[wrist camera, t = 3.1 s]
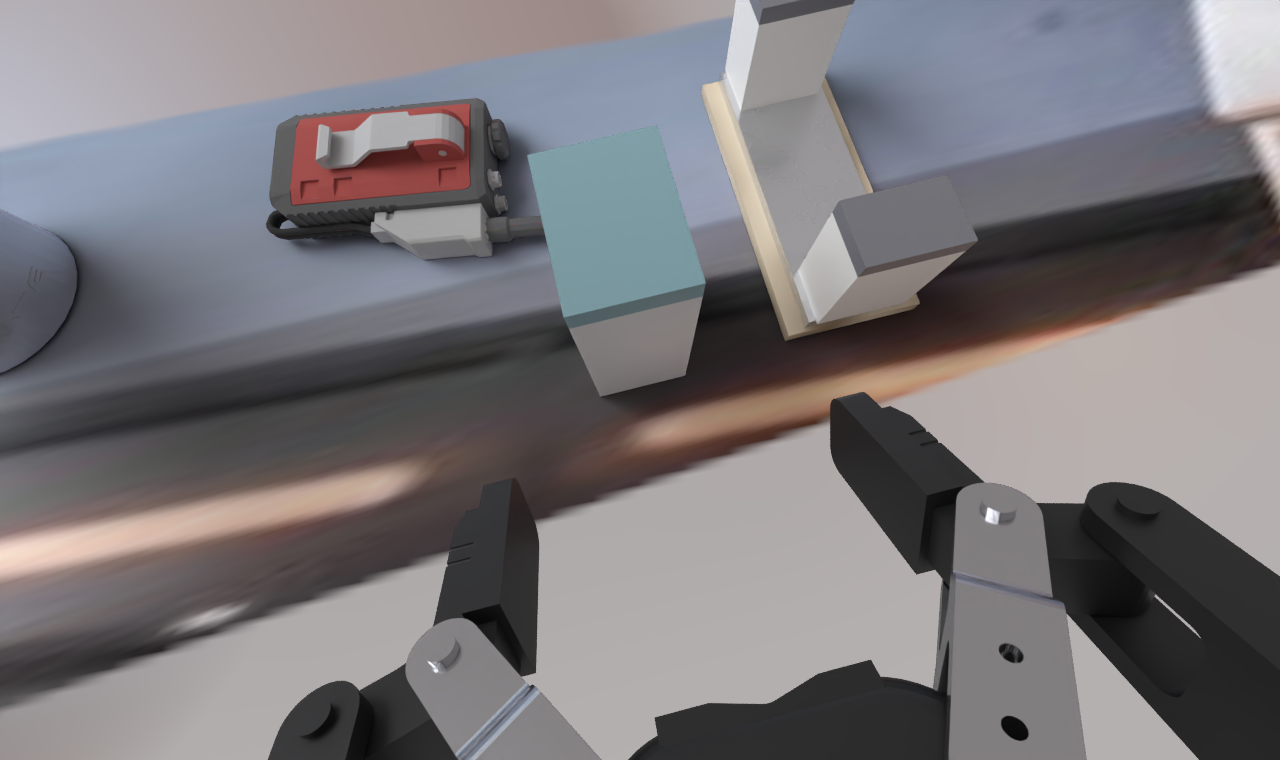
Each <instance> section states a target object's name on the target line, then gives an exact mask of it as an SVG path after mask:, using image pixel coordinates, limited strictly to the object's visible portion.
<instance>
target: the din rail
mask: <svg viewBox="0 0 1280 760" xmlns="http://www.w3.org/2000/svg"><path fill="white" fill-rule="evenodd" d="M719 87H720V90H721V92H722V95H723V98H724V101H725V104H726V107H727V109H728V112H729V115H730V118H731V121H732V124H733V126H734V129H735V132H736V135H737V138H738V141H739V143H740V146H741V149H742V152H743V155H744V158H745V161H746V163H747V166H748V169H749V172H750V175H751V178H752V180H753V183H754V186H755V189H756V192H757V195H758V197H759V200H760V203H761V206H762V209H763V212H764V214H765V217H766V220H767V223H768V226H769V229H770V231H771V234H772V237H773V240H774V243H775V246H776V248H777V251H778V254H779V257H780V260H781V263H782V265H783V268H784V271H785V274H786V277H787V280H788V282H789V285H790V288H791V291H792V294H793V297H794V299H795V302H796V305H797V308H798V311H799V314H800V316H801V319H802V322H803V325H804V328H807V327H811V326H815V325H819V324H817V322H816V319H815V317H814V314H813V311H812V308H811V305H810V303H809V300H808V297H807V294H806V292H805V289H804V286H803V283H802V280H801V278H800V275H799V272H798V269H799V268H800V266H801V264H802V263H803V261H804V259H805V258H806V256H807V254H808V252H809V251H810V249H811V247H812V246H813V244H814V242H815V241H816V239H817V237H818V235H819V234H820V232H821V230H822V229H823V227H824V225H825V224H826V222H827V220H828V218H829V217H830V215H831V213H832V212H833V210H834V208H835V207H836V205H837V203H838V202H839V201H840V200H844V199H848V198H852V197H856V196H861V195H865V194H866V192H865V189H864V187H863V184H862V182H861V180H860V177H859V175H858V172H857V170H856V168H855V165H854V163H853V160H852V158H851V155H850V153H849V151H848V148H847V146H846V143H845V141H844V139H843V136H842V134H841V131H840V129H839V127H838V124H837V122H836V119H835V117H834V115H833V112H832V110H831V107H830V105H829V103H828V100H827V98H826V95H825V93H824V91H823V88H822V86H821V87H820V90H819V93H818V94H814V95H809V96H805V97H801V98H796V99H792V100H788V101H783V102H779V103H775V104H770V105H766V106H762V107H757V108H753V109H749V110H744V111H740V108H739V106H738V103H737V100H736V97H735V95H734V92H733V89H732V86H731V83H730V81H729V78H728V75H727V72H723V73H720V79H719ZM902 304H903V303H902ZM898 305H900V304H898ZM893 306H896V305H893ZM889 307H892V306H889ZM885 308H887V307H885ZM881 309H883V308H881ZM877 310H879V309H877ZM873 311H875V310H873ZM869 312H871V311H869ZM865 313H867V312H865ZM861 314H863V313H861ZM857 315H859V314H857ZM853 316H855V315H853ZM849 317H851V316H849ZM845 318H847V317H845ZM841 319H843V318H841ZM837 320H839V319H837ZM833 321H835V320H833ZM829 322H831V321H829ZM825 323H827V322H825ZM821 324H823V323H821Z"/></svg>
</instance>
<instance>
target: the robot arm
mask: <svg viewBox="0 0 1280 760" xmlns="http://www.w3.org/2000/svg"><path fill="white" fill-rule="evenodd" d="M76 288H77V269H76V265H75V260H74V257H73V255H72V254H71V252H70V250H69V248H68V246H67V245H66V244H65V243H64V242H63V241H62V240H61V239H60V238H59V237H57V236H56V235H54V234H52V233H50V232H48V231H47V230H45V229H42V228H40V227H38V226H36V225H34V224H32V223H30V222H27V221H25V220H23V219H21V218H19V217H17V216H15V215H12V214H10V213H8V212H6V211H4V210H2V209H0V373H1V372H5V371H7V370H9V369H11V368H12V367H14V366H16V365H18V364H20V363H22V362H24V361H25V360H26V359H28V358H29V357H30V356H32V355H33V354H35V353H36V352H37V351H39V350H40V349H41V348H42V347H43V346H44V345H45V344H46V343H47V342H48V341H49V340H50V339H51V338H52V337H53V336H54V334H55V333H56V331H57V330H58V329H59V327H60V326H61V324H62V323H63V322H64V320H65V318H66V316H67V314H68V312H69V310H70V308H71V306H72V303H73V300H74V296H75V292H76ZM830 447H831V448H830V449H831V454H832V458H833V461H834V464H835V466H836V468H837V470H838V471H839V473H840V474H841V475H842V476H843V478H844V479H845V481H846V482H847V483H848V485H849V486H850V487H851V488H852V490H853V491H854V492H855V494H856V495H857V496H858V498H859V499H860V500H861V502H862V503H863V504H864V506H865V507H866V508H867V510H868V511H869V512H870V514H871V515H872V516H873V518H874V519H875V520H876V521H877V523H878V524H879V525H880V527H881V528H882V530H883V531H884V532H885V534H886V535H887V536H888V537H889V539H890V540H891V541H892V543H893V544H894V545H895V547H896V548H897V549H898V551H899V552H900V553H901V555H902V556H903V557H904V559H905V560H906V561H907V563H908V564H909V565H910V567H911V568H912V569H913V570H914V572H915V573H916V574H920V573H924V572H928V571H932V570H936V571H937V572H938V574H939V575H940V576H941V577H942V579H943V580H942V585H941V597H940V612H939V627H938V642H937V658H936V669H935V677H934V685H933V689H932V688H929V687H926V686H924V685H921V684H918V683H914V682H911V681H907V680H903V679H897V678H889V677H880V675H879V673H878V672H877V670H876V668H875V666H874V665H873V663H872V661H871V660H868V661H864V662H860V663H857V664H853V665H849V666H846V667H842V668H838V669H834V670H830V671H827V672H823V673H820V674H817V675H815V676H814V677H812V678H811V679H809V680H808V681H806V682H804V683H803V684H801V685H799V686H798V687H796V688H794V689H793V690H791V691H790V692H788V693H786V694H785V695H783V696H782V697H780V698H778V699H777V700H775V701H773V702H771V703H768V704H723V703H708V704H704V705H700V706H696V707H693V708H689V709H685V710H681V711H678V712H674V713H670V714H667V715H663V716H659V717H655V722H656V728H657V734H658V736H656V737H655V738H653V739H652V740H650V741H648V742H647V743H646V744H645V745H643V746H642V747H641V748H640V749H638V750H637V751H636V752H635V753H634V754H633V755H632V757H630V758H629V759H628V760H1087V759H1086V752H1085V745H1084V738H1083V730H1082V724H1081V716H1080V709H1079V702H1078V695H1077V687H1076V680H1075V674H1074V666H1073V659H1072V651H1071V645H1070V637H1069V630H1068V623H1067V616H1066V614H1068V615H1069V616H1070V617H1071V619H1072V620H1073V621H1074V622H1075V623H1076V624H1077V625H1078V626H1079V627H1080V629H1081V630H1082V631H1083V632H1084V633H1085V634H1086V635H1087V636H1088V637H1089V638H1090V640H1091V641H1092V642H1093V643H1094V644H1095V645H1096V646H1097V647H1098V648H1099V650H1101V652H1102V653H1103V654H1104V655H1105V656H1106V657H1107V658H1108V659H1109V661H1110V662H1111V663H1112V664H1113V665H1114V666H1115V667H1116V668H1117V669H1118V671H1119V672H1120V673H1121V674H1122V675H1123V676H1124V677H1125V678H1126V679H1127V680H1128V681H1129V683H1130V684H1131V685H1132V686H1133V687H1134V688H1135V689H1136V690H1137V692H1138V693H1139V694H1140V695H1141V696H1142V697H1143V698H1144V699H1145V700H1146V701H1147V703H1148V704H1149V705H1150V706H1151V707H1152V708H1153V709H1154V710H1155V711H1156V712H1157V714H1158V715H1159V716H1160V717H1161V718H1162V719H1163V720H1164V721H1165V722H1166V724H1167V725H1168V726H1169V727H1170V728H1171V729H1172V730H1173V731H1174V732H1175V733H1176V735H1177V736H1178V737H1179V738H1180V739H1181V740H1182V741H1183V742H1184V743H1185V745H1186V746H1187V747H1188V748H1189V749H1190V750H1191V751H1192V752H1193V753H1194V755H1195V756H1196V757H1197V758H1198V759H1199V760H1280V576H1278V575H1277V574H1276V573H1274V572H1273V571H1271V570H1270V569H1269V568H1267V567H1266V566H1264V565H1263V564H1262V563H1260V562H1259V561H1257V560H1256V559H1255V558H1253V557H1252V556H1250V555H1249V554H1248V553H1246V552H1245V551H1243V550H1242V549H1241V548H1239V547H1238V546H1236V545H1235V544H1234V543H1232V542H1231V541H1229V540H1228V539H1226V538H1225V537H1224V536H1222V535H1221V534H1220V533H1218V532H1217V531H1215V530H1214V529H1212V528H1211V527H1210V526H1208V525H1207V524H1205V523H1204V522H1203V521H1201V520H1200V519H1198V518H1197V517H1196V516H1194V515H1193V514H1191V513H1190V512H1189V511H1187V510H1186V509H1184V508H1183V507H1182V506H1180V505H1179V504H1177V503H1176V502H1175V501H1173V500H1171V499H1170V498H1168V497H1167V496H1165V495H1163V494H1161V493H1159V492H1156V491H1154V490H1152V489H1149V488H1146V487H1143V486H1139V485H1135V484H1129V483H1120V482H1119V483H1118V482H1109V483H1103V484H1100V485H1097V486H1095V487H1093V488H1092V489H1091V490H1090V491H1089V492H1088V494H1087V497H1086V500H1085V503H1084V504H1071V503H1070V504H1068V503H1065V504H1063V503H1056V504H1055V503H1035V502H1034V501H1033V500H1032V499H1031V498H1030V497H1028V496H1027V495H1026V494H1024V493H1022V492H1020V491H1018V490H1016V489H1014V488H1011V487H1008V486H1005V485H1001V484H995V483H985V482H983V481H982V480H981V479H980V478H979V477H978V476H977V475H976V474H975V473H974V472H972V471H971V470H970V469H969V468H968V467H967V466H966V465H965V464H964V463H962V462H961V461H960V460H959V459H958V458H957V457H956V456H955V455H954V454H953V453H951V452H950V451H949V450H948V449H947V448H946V447H945V446H944V445H943V444H942V443H938V440H937V439H936V438H935V437H934V436H933V435H932V434H930V433H929V432H926V430H925V428H924V427H923V426H921V425H920V424H919V423H918V422H917V421H916V420H915V419H914V418H913V417H912V416H910V415H908V414H906V413H904V412H901V411H899V410H897V409H895V408H893V407H891V406H889V407H885V408H881V407H880V406H879V405H878V404H877V403H876V402H875V401H874V400H873V399H872V398H871V397H870V396H869V395H867V394H866V393H864V392H860V393H856V394H852V395H848V396H844V397H840V398H836V399H833V400H832V402H831V406H830ZM447 564H448V567H446V570H445V575H444V580H443V584H442V589H441V593H440V598H439V602H438V607H437V612H436V616H435V621H434V625H433V627H432V628H431V629H430V630H428V631H427V632H426V633H425V634H424V635H422V636H421V638H420V639H419V640H418V641H417V642H416V644H415V645H414V646H413V648H412V650H411V652H410V654H409V656H408V659H407V662H406V663H405V664H404V665H403V666H401V667H400V668H398V669H397V670H395V671H393V672H391V673H390V674H388V675H386V676H384V677H383V678H381V679H379V680H377V681H376V682H374V683H372V684H370V685H368V686H367V687H365V688H363V689H361V690H360V691H359V690H358V689H357V688H356V687H355V686H354V685H353V684H352V683H349V682H347V681H335V682H331V683H328V684H326V685H324V686H321V687H320V688H318V689H316V690H315V691H313V692H311V693H310V694H309V695H307V696H306V697H305V698H304V699H302V700H301V701H300V702H299V703H298V704H297V705H296V706H295V708H294V709H293V710H292V711H291V712H290V713H289V715H288V716H287V717H286V719H285V720H284V722H283V724H282V726H281V727H280V730H279V732H278V734H277V736H276V739H275V742H274V744H273V747H272V750H271V752H270V755H269V758H268V760H601V759H600V758H599V756H598V755H597V754H596V753H595V752H594V751H593V750H592V749H591V747H590V746H589V745H588V744H587V743H586V742H585V741H584V740H583V738H582V737H581V736H580V735H579V734H578V733H577V732H576V731H575V730H574V729H573V727H572V726H571V725H570V724H569V723H568V722H567V721H566V719H565V718H564V717H563V716H562V715H561V714H560V713H559V712H558V710H557V709H556V708H555V707H554V706H553V705H552V704H551V703H550V701H549V700H548V699H547V698H546V697H545V696H544V695H543V694H542V693H541V692H540V691H539V690H538V689H537V688H536V687H535V686H534V685H531V686H529V685H528V684H527V683H526V682H525V681H524V680H523V678H522V676H526V675H530V674H534V673H536V650H537V609H538V572H539V539H538V532H537V528H536V524H535V521H534V519H533V516H532V514H531V512H530V509H529V507H528V505H527V502H526V500H525V497H524V495H523V493H522V490H521V488H520V485H519V483H518V481H517V480H516V479H515V478H512V479H508V480H504V481H500V482H496V483H492V484H488V485H484V487H483V490H482V495H481V501H480V507H479V508H478V509H474V510H470V511H466V513H465V514H464V516H463V517H462V519H461V520H460V522H459V523H458V525H457V527H456V528H455V530H454V534H453V538H452V543H451V551H450V552H449V557H448V561H447ZM1155 594H1156V595H1157V596H1158V597H1159V598H1161V599H1162V600H1163V601H1164V602H1165V603H1166V604H1167V605H1168V606H1169V607H1171V608H1172V609H1173V610H1174V611H1175V612H1176V613H1177V614H1178V615H1180V616H1181V617H1182V618H1183V619H1184V620H1185V621H1186V622H1187V623H1188V624H1190V625H1191V626H1192V627H1193V628H1194V629H1195V630H1196V632H1197V633H1198V634H1199V636H1200V637H1201V638H1199V637H1198V636H1197V635H1196V634H1195V633H1194V632H1193V631H1192V630H1191V629H1189V628H1188V627H1187V626H1186V625H1185V624H1184V623H1183V622H1182V621H1181V620H1180V619H1178V618H1177V617H1176V616H1175V615H1174V614H1173V613H1172V612H1171V611H1169V609H1167V608H1166V607H1165V606H1164V605H1163V604H1162V603H1161V602H1160V601H1159V600H1158V599H1156V598H1155V597H1154V596H1155Z"/></svg>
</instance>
